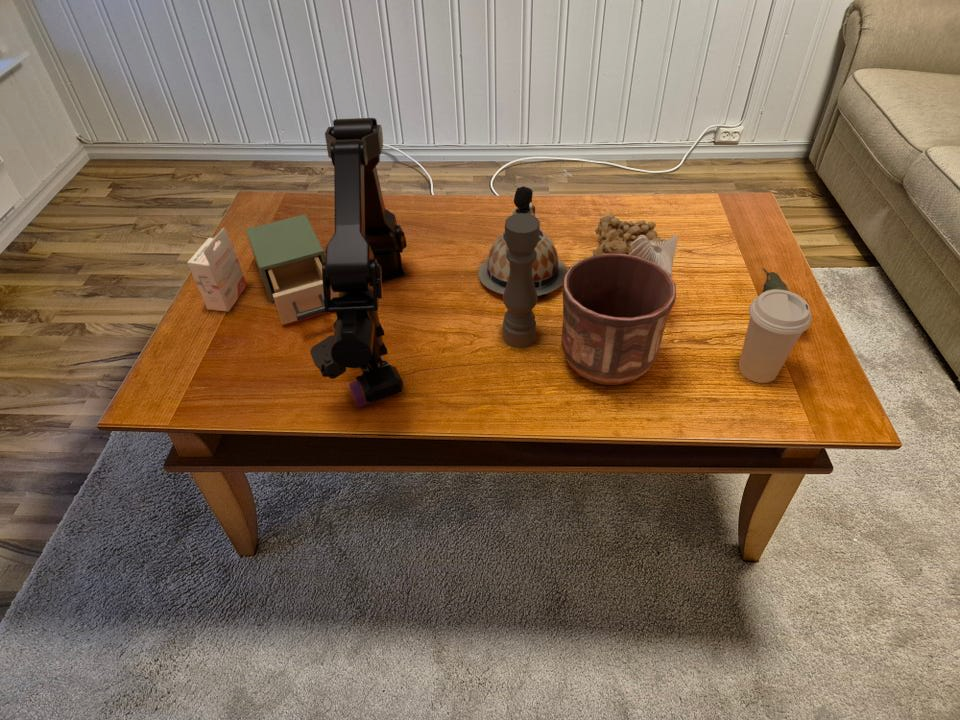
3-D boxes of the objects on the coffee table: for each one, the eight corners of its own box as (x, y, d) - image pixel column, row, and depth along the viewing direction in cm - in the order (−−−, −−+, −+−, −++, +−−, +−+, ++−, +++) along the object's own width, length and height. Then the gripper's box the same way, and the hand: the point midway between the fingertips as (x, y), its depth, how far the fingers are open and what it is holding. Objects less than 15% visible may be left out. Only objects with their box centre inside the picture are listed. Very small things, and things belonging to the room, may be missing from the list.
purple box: (391, 379, 116) (390, 369, 115) (399, 393, 114) (397, 384, 112) (351, 392, 114) (348, 383, 113) (357, 407, 112) (355, 398, 110)
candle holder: (539, 329, 125) (546, 215, 107) (530, 351, 121) (535, 236, 103) (508, 322, 126) (509, 209, 109) (498, 343, 122) (498, 230, 105)
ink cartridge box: (225, 283, 137) (203, 223, 126) (247, 286, 136) (227, 225, 126) (205, 310, 131) (180, 249, 120) (228, 313, 130) (205, 251, 120)
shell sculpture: (669, 303, 129) (687, 225, 117) (658, 329, 124) (677, 251, 111) (628, 293, 132) (641, 215, 119) (616, 318, 127) (629, 240, 114)
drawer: (347, 322, 126) (341, 295, 121) (288, 340, 123) (279, 313, 118) (322, 270, 138) (315, 243, 133) (267, 285, 135) (259, 258, 130)
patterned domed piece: (499, 243, 145) (505, 159, 132) (578, 266, 140) (593, 181, 126) (463, 288, 133) (465, 200, 119) (547, 315, 128) (560, 227, 114)
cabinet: (331, 285, 136) (323, 250, 130) (270, 302, 132) (259, 267, 126) (313, 247, 145) (305, 214, 139) (256, 262, 142) (245, 229, 135)
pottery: (608, 415, 109) (622, 337, 97) (537, 358, 119) (541, 280, 107) (677, 367, 117) (699, 287, 104) (605, 316, 127) (617, 239, 114)
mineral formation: (595, 234, 146) (664, 236, 143) (591, 278, 139) (664, 282, 136) (596, 206, 140) (669, 208, 137) (592, 251, 132) (669, 254, 129)
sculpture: (770, 276, 135) (777, 256, 131) (807, 341, 121) (816, 320, 118) (748, 277, 134) (755, 257, 131) (783, 342, 121) (791, 322, 117)
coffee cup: (778, 397, 112) (807, 332, 101) (722, 376, 115) (745, 311, 105) (792, 362, 117) (821, 298, 107) (738, 343, 121) (761, 279, 110)
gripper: (295, 301, 106) (314, 368, 117) (326, 377, 94) (344, 444, 105) (361, 282, 109) (374, 349, 120) (399, 353, 97) (409, 421, 108)
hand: (374, 389), depth 113 cm, fingers closed on purple box, 4 cm apart
